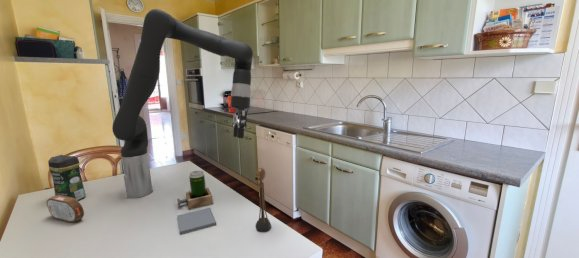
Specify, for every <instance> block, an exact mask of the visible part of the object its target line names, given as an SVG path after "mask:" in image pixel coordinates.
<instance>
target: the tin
mask: <svg viewBox="0 0 579 258" xmlns="http://www.w3.org/2000/svg"><path fill="white" fill-rule="evenodd" d="M46 207H47V209H48V212H49V215H51V216H52V217H53V218H54V219H56V220H60V221H63V222H64V221H65V222H69V223H75V222H77V221H79V220H81V219H83V217H84V216H85V211H84V208H83V206H82V204H81V202H80V201H77V200H76V199H75V198H72V197H67V196H62V195H55V194H54V196H51V197H50V198H48V199H47V200H46Z"/></svg>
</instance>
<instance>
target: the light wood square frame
mask: <svg viewBox="0 0 579 258" xmlns="http://www.w3.org/2000/svg"><path fill="white" fill-rule="evenodd" d="M185 196H186V197H185V198H184V199H180V198H177V199H176V200H177V201H176V202H177V207H181V204H186V203H187V206H188V210H189V211H190V210H193V209H199V208H203V207H207V206H211V205H214V202H213V201H214V199H213V194H212V192H211V190H210V188H209V186H208V187H206V196H203V197H198V198H194V199H192V197H191V190H189V191H185Z"/></svg>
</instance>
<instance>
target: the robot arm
mask: <svg viewBox="0 0 579 258" xmlns="http://www.w3.org/2000/svg"><path fill="white" fill-rule="evenodd" d="M166 38H167V39H172V40H176V41H181V42H185V43H188V44H190V45H193V46H195V47H197V48H198V49H200V50H204V51H206V52H208V53H212V54H215V55H217V56H221V57H229V58H232V59H234V65H233V66H234V67H233V68H234V69H233V74H232V86H231V92H230V94H231V95H230V108H231V109H235V111H233V113H232V114H233V116H232V128H233V137H234V138H237V139H244V138H245V137H244V136H245V135H244V134H245V128H246V127H247V118H248V117H247V116H248V111H247V110H249V109H250V108H251V107H250V106H251V95H252V94H251V93H252V91H251V90H252V89H251V87H252V86H251V85H252V83H251V82H252V74H251V73H252V62H253V57H254V56H253V55H254V51H253V49H252V47H251V46H250V45H249V44H248V43H245V42H243V41H239V40H235V39H230V38H226V37H223V36H220V35H218V34H216V33H212V32H210V31H206V30H203V29H199V28H196V27H193V26H190V25H189V24H186V23H183V22H182V21H180V20H179V19H177V18H175V17H174V16H172V15H171V14H169V13H168V12H166V11H165V10H162V9H159V8H153V9H151V10H149V11H148V12H147V13H146V14H145V16H144V20H143V23H142V32H141V36H140V42H139V46H138V48H137V51H136V54H135V59H134V60H133V65H132V68H131V71H130V73H129V76H128V81H127V86H126V88H125V90H124V91H125V92H124V94H123V97H122V102H121V104H120V106H119V108H118V111H117V113H116V115H115V118H114V120H113V123H112V134H113V135H114V136H115V138H117V140H120V141H125V142H124V144H123V146H122V147H121V149H120V156H121V162H122V168H123V181H124V188H125V192H126V198H127V199H130V198H131V199H137V198H143V197H146V196H148V195H150V194H151V193H153V191H154V190H153V185H152V184H153V183H152V177H151V169H150V163H149V156H148V155H149V154H148V145H149V138H148V127H147V123H146V121H145V119H144V118H143V117H142V116H141V115H140V114H141V111H142V110H143V107H144V106H145V105H146V103H147V102H148V100H149V99H150V98H151V96H152V95H153V93H154V91H155V89H156V86H157V83H158V80H159V77H160V73H161V71H160V70H161V52H162V48H163V46H164V43H165V40H166Z"/></svg>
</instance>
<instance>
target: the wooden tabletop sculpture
mask: <svg viewBox="0 0 579 258" xmlns="http://www.w3.org/2000/svg"><path fill="white" fill-rule="evenodd" d="M266 175H267V174H266V169H265V168H263V167H259V168H257V170H256V172H255V177H254V180H255V181H258V182H259V183H258V186H259V187H258V189H259V190H258V191H259V215H258V220H257V221H256V223H255V230H256V232H258V233H266V232H268V231H271V229H272V224H271V222H270V219H269V218H268V214H267V209H266V202H265V199H266V198H265V184H264V182H263V181H264V180H265V178H266Z"/></svg>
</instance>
